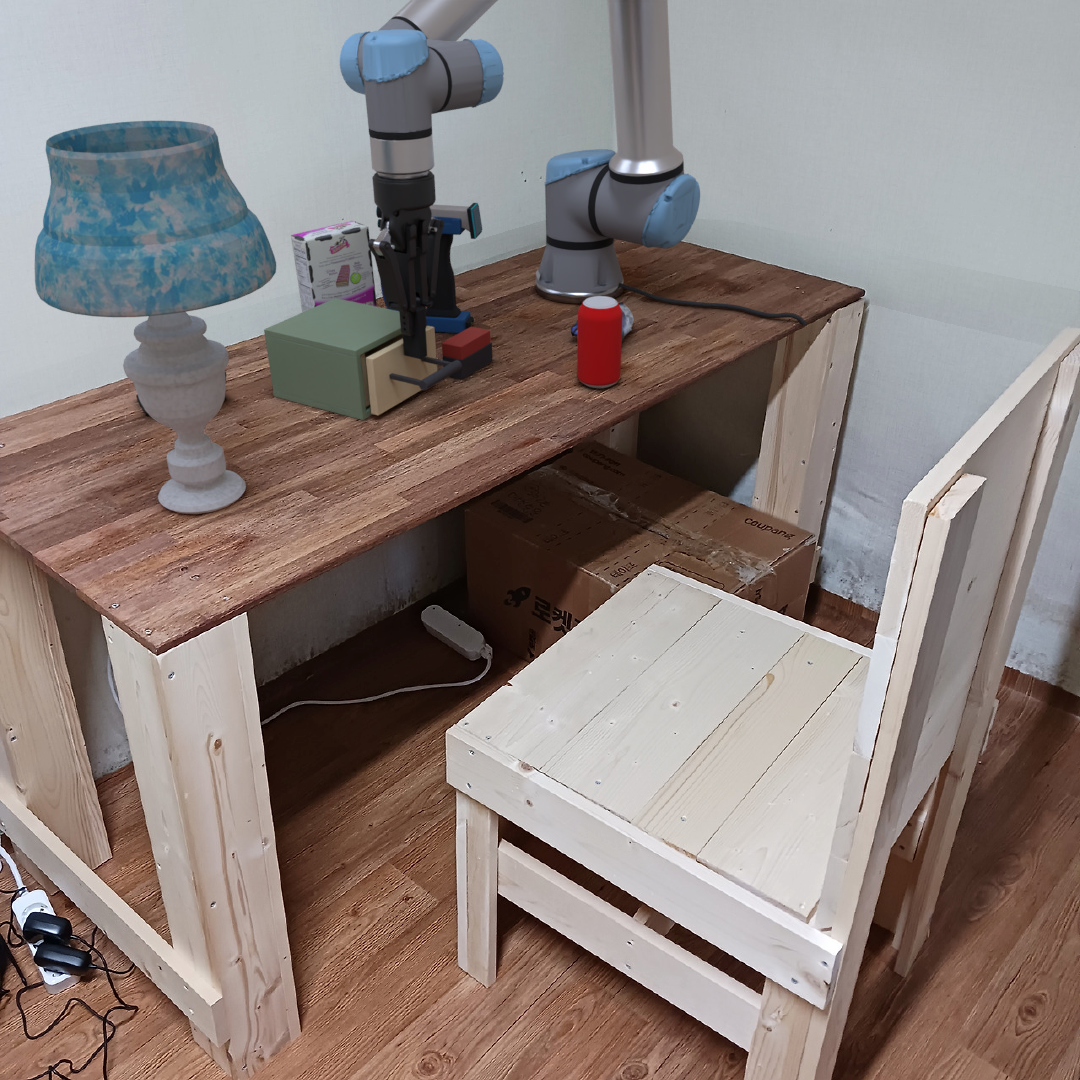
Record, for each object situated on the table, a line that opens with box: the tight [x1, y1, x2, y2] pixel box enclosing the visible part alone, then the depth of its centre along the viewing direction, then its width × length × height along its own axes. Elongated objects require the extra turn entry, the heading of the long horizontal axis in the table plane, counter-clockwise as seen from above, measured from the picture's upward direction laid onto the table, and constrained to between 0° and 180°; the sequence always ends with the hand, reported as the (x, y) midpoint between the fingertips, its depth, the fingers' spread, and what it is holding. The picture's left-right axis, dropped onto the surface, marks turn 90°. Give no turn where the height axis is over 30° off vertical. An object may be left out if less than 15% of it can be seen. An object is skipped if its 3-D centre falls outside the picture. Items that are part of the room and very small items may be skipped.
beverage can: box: [576, 296, 623, 389], centre depth 149 cm, size 6×6×12 cm
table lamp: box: [34, 120, 277, 515], centre depth 114 cm, size 24×24×40 cm
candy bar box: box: [290, 220, 378, 313], centre depth 166 cm, size 11×5×16 cm, turn 131°
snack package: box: [570, 295, 635, 345], centre depth 166 cm, size 12×6×12 cm
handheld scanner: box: [375, 202, 483, 334], centre depth 166 cm, size 5×16×20 cm, turn 78°
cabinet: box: [263, 298, 402, 421], centre depth 148 cm, size 16×15×10 cm
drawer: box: [360, 326, 462, 416], centre depth 146 cm, size 21×14×8 cm, turn 59°
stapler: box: [441, 326, 494, 381], centre depth 156 cm, size 8×3×5 cm, turn 149°
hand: (415, 355), depth 142 cm, fingers closed
